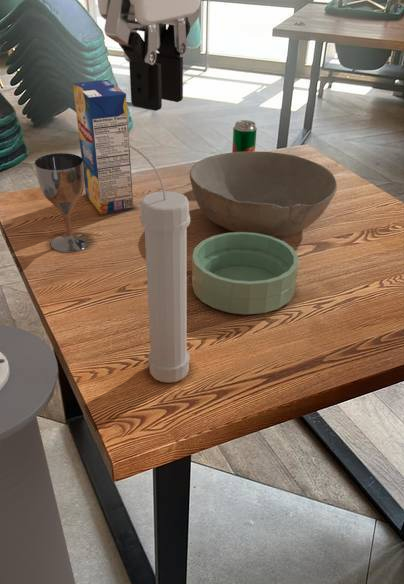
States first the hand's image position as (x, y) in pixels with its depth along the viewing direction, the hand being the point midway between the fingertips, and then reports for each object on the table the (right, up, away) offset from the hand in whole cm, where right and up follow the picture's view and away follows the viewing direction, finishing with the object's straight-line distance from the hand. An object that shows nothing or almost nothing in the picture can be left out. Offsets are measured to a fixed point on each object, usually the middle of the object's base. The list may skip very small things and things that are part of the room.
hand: (157, 101), depth 56 cm
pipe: (0, -27, +21) cm, 34 cm away
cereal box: (-15, +8, +64) cm, 66 cm away
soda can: (+13, +16, +75) cm, 78 cm away
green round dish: (+11, -14, +38) cm, 42 cm away
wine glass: (-20, -4, +49) cm, 53 cm away
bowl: (+16, +2, +58) cm, 60 cm away
